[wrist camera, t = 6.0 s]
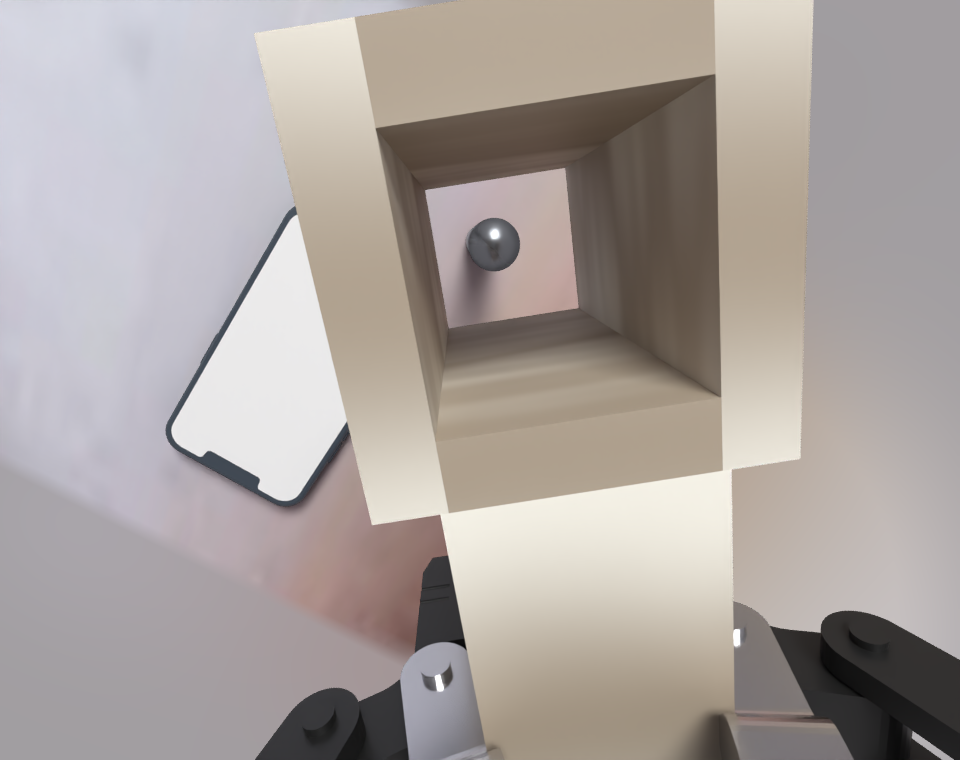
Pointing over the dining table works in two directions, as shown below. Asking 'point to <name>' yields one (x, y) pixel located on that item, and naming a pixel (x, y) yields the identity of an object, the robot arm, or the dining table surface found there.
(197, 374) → the smartphone
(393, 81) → the open-ended tube with peg
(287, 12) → the dining table surface
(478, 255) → the post
